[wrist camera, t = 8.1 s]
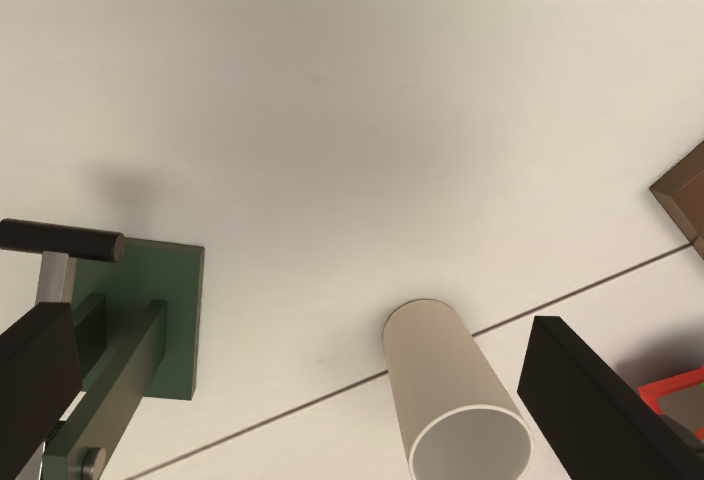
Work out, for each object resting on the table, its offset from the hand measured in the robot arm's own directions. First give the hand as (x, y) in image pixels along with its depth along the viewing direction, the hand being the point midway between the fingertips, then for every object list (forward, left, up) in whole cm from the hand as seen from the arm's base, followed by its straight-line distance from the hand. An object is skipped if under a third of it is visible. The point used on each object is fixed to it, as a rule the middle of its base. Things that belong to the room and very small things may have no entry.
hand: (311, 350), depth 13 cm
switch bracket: (+15, -3, -19) cm, 24 cm away
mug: (+3, +15, -19) cm, 24 cm away
